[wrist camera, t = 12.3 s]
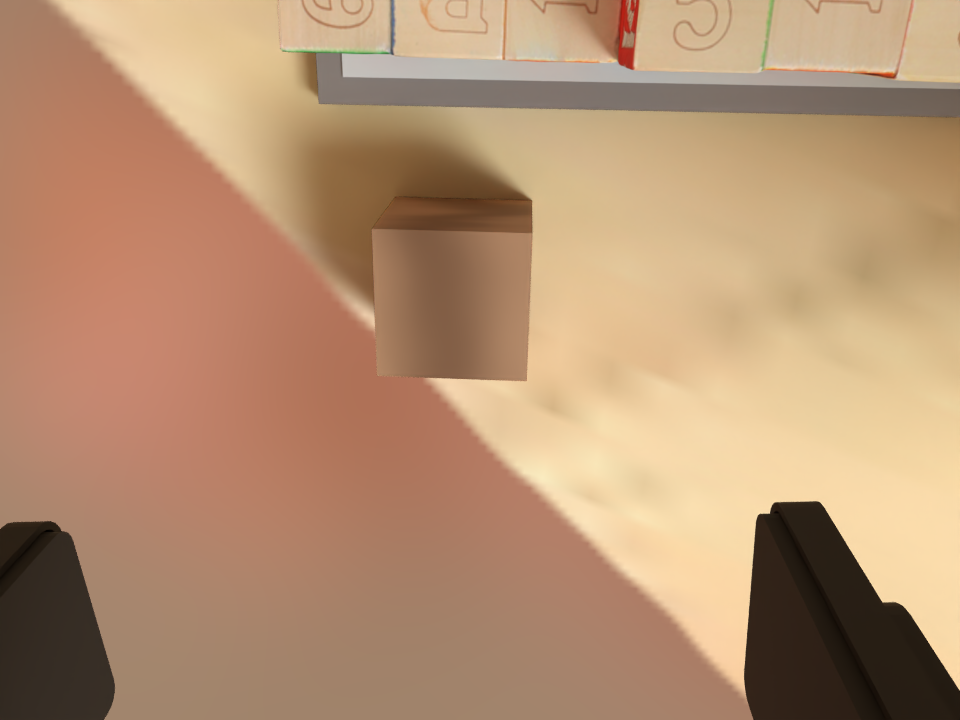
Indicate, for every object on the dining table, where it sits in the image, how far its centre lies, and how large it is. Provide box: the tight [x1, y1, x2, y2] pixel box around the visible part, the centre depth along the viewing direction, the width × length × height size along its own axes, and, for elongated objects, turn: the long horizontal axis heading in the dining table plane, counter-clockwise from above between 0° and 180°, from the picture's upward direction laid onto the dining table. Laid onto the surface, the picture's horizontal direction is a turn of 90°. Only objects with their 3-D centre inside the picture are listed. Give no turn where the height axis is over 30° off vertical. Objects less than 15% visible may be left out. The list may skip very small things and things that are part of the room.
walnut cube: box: [372, 197, 532, 381], centre depth 33 cm, size 6×6×6 cm
